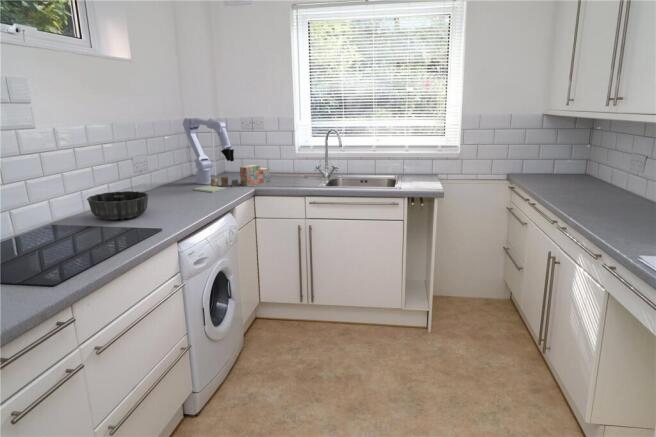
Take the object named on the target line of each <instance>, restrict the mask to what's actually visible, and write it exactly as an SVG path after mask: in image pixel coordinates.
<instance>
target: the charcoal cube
mask: <svg viewBox="0 0 656 437" xmlns="http://www.w3.org/2000/svg"><path fill="white" fill-rule="evenodd" d="M230 181H231V186H232V187H239V180H238V178H237V179H234V178H233V179H231V180H230Z"/></svg>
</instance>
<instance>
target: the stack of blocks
mask: <svg viewBox="0 0 656 437" xmlns="http://www.w3.org/2000/svg"><path fill="white" fill-rule="evenodd" d="M239 176H240V185H241V186H245V185H246V186H247V187H249V186H254V185H257V184H258V183H259V184H264V183H268V182H267V181H269V182H271V181H270V179H271V177H270V168H268V167H260V164H258V165H257V164H248V165H243V166H242V165H241V166H240V167H239ZM263 182H264V183H263ZM253 184H254V185H253ZM248 185H249V186H248Z"/></svg>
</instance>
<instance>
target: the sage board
mask: <svg viewBox="0 0 656 437" xmlns="http://www.w3.org/2000/svg"><path fill="white" fill-rule="evenodd" d="M226 189H227V187H222V186H218V187H216V186H211V185H203V186H198V187H195V188H194V187H193V188H192V190H193V191H196V192H206V193H217V192H220V191H225V190H226Z"/></svg>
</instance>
